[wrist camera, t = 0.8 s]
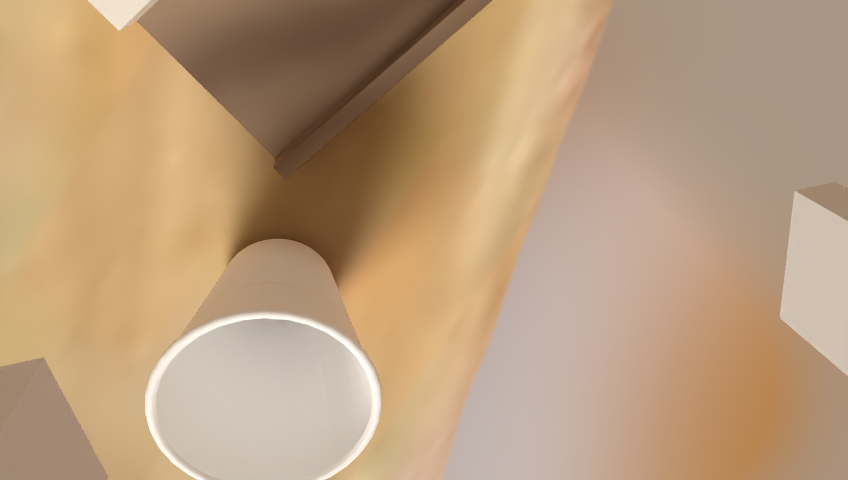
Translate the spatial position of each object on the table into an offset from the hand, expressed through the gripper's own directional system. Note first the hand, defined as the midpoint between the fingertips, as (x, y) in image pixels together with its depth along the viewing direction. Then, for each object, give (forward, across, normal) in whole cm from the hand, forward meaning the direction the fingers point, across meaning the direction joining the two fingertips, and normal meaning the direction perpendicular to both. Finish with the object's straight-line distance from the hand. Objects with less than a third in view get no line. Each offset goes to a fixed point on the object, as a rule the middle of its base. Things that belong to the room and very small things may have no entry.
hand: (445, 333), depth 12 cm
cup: (+24, -7, -12) cm, 28 cm away
